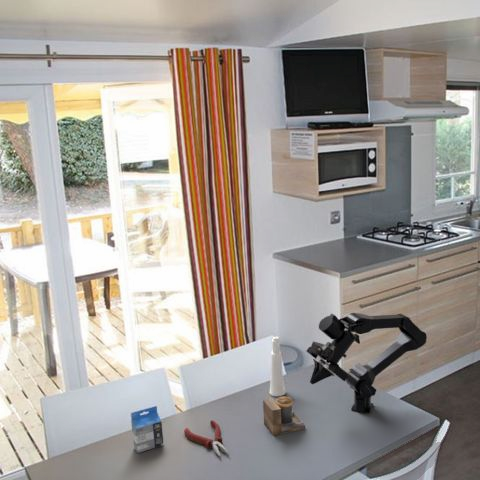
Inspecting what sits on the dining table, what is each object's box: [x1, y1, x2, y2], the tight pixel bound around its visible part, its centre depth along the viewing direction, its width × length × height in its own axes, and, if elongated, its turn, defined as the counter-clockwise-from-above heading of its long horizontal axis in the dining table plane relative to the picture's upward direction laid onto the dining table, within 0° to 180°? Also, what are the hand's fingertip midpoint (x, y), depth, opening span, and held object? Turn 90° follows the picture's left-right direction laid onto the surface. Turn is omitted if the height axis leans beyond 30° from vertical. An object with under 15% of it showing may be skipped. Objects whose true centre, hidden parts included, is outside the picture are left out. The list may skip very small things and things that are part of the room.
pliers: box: [183, 420, 230, 459], centre depth 186 cm, size 12×20×3 cm, turn 28°
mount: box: [262, 397, 306, 437], centre depth 192 cm, size 12×8×9 cm
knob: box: [275, 396, 295, 427], centre depth 192 cm, size 5×6×8 cm
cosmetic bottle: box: [268, 336, 287, 397], centre depth 214 cm, size 6×6×22 cm
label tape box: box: [130, 405, 165, 454], centre depth 184 cm, size 9×4×12 cm, turn 118°
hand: (311, 383), depth 193 cm, fingers closed
